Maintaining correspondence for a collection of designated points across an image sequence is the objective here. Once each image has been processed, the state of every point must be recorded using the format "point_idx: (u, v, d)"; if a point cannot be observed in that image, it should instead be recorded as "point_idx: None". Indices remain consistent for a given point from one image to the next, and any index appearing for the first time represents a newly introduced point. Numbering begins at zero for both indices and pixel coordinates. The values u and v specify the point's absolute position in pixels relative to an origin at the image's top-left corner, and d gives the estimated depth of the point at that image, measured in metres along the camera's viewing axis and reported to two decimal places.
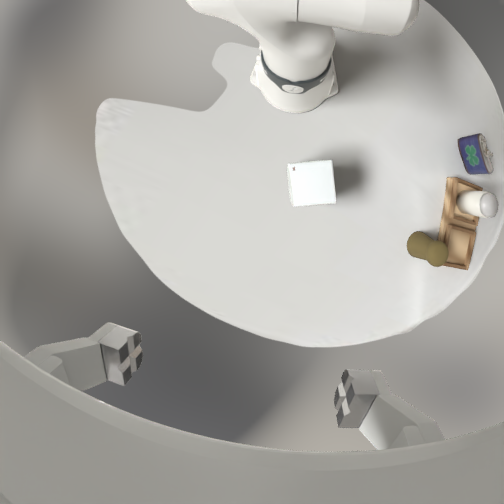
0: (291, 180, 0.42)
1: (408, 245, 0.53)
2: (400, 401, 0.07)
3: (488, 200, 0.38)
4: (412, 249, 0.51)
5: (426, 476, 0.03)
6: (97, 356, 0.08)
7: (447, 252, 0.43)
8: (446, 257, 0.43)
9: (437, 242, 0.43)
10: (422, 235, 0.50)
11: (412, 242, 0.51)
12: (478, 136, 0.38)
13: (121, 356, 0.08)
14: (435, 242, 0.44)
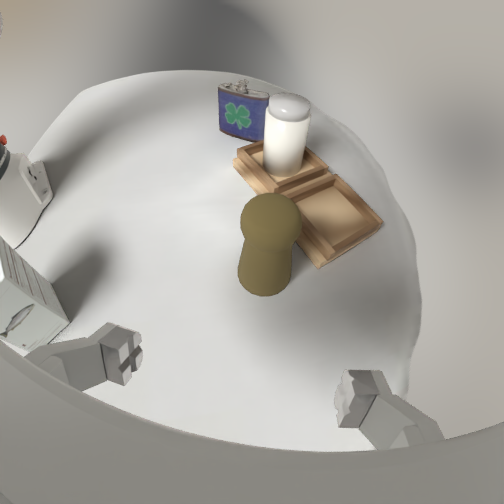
0: None
1: (244, 285, 0.29)
2: (400, 401, 0.07)
3: (278, 100, 0.29)
4: (250, 280, 0.28)
5: (426, 476, 0.03)
6: (97, 356, 0.08)
7: (283, 197, 0.22)
8: (289, 204, 0.22)
9: (246, 204, 0.23)
10: None
11: (241, 271, 0.28)
12: (218, 88, 0.37)
13: (121, 356, 0.08)
14: None
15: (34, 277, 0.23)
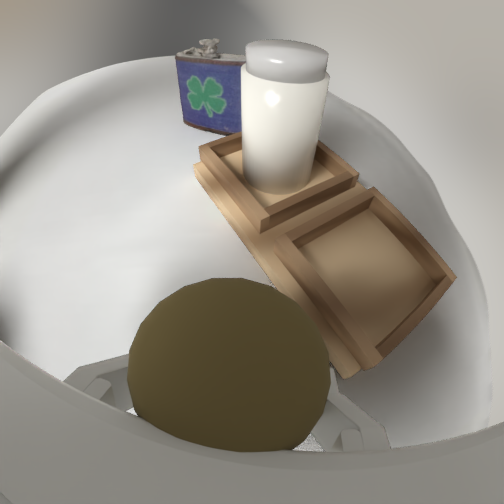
0: None
1: None
2: (346, 402, 0.07)
3: (264, 46, 0.13)
4: None
5: (426, 476, 0.03)
6: None
7: (266, 302, 0.06)
8: (290, 338, 0.06)
9: None
10: None
11: None
12: (176, 56, 0.22)
13: None
14: None
15: None
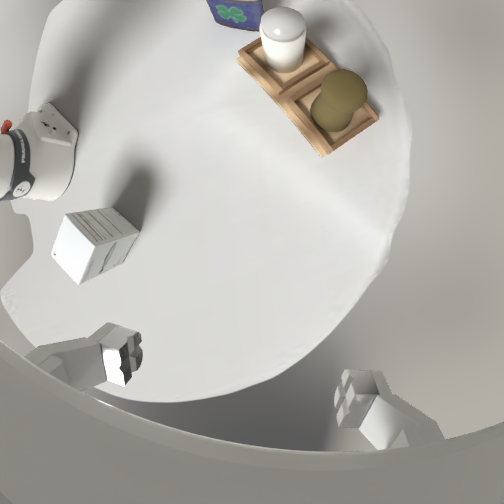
0: (60, 265, 0.31)
1: (318, 125, 0.34)
2: (400, 401, 0.07)
3: (270, 21, 0.22)
4: (324, 123, 0.32)
5: (426, 476, 0.03)
6: (97, 356, 0.08)
7: (352, 74, 0.23)
8: (358, 80, 0.23)
9: (325, 78, 0.24)
10: (317, 96, 0.31)
11: (316, 116, 0.32)
12: None
13: (121, 356, 0.08)
14: (323, 81, 0.24)
15: (104, 218, 0.37)
